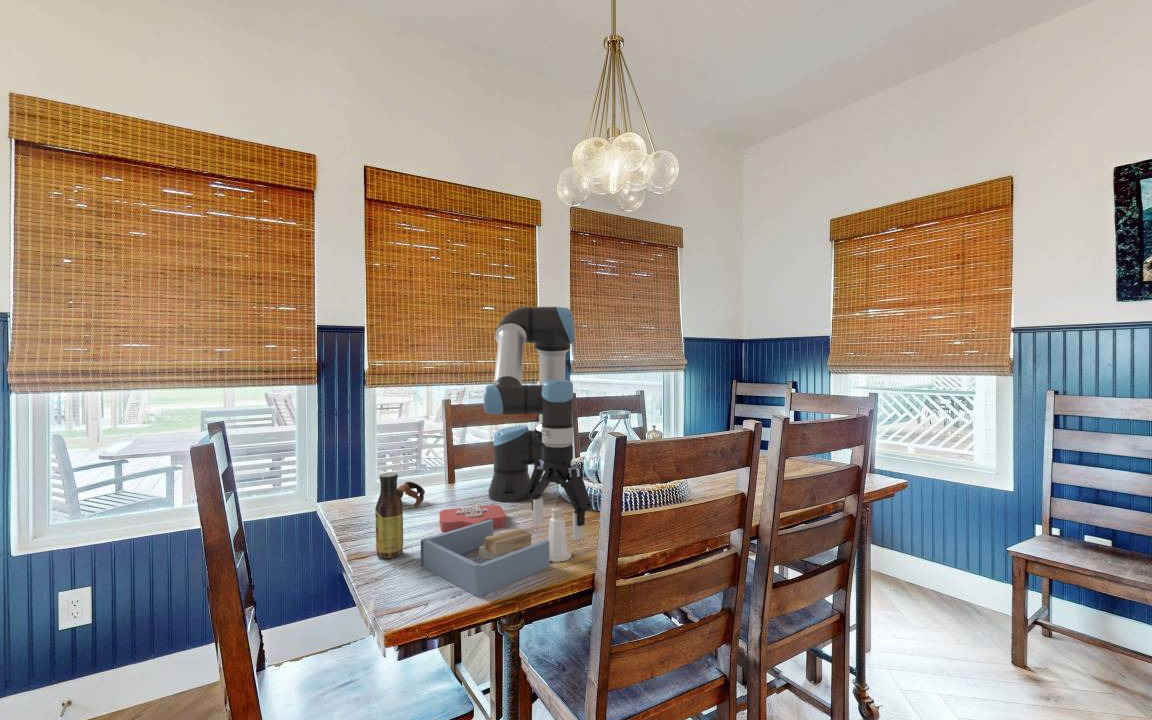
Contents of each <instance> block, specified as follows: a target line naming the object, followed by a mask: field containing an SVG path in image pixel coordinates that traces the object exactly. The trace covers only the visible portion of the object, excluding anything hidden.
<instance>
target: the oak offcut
mask: <svg viewBox="0 0 1152 720" xmlns="http://www.w3.org/2000/svg"><path fill="white" fill-rule="evenodd" d="M530 545H532V532H530V531H527V530H525V529H523V528H516V529H512V530H508V531H504V532H500V533H497V534H493V535H492V536H488V537H485V549H486V550H488V551H490V552H491V553H493V554H494V555H498V554H501V553H505V552H508V551H512V550H516V549H519V548H523V547H526V546H530Z"/></svg>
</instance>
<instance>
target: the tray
mask: <svg viewBox="0 0 1152 720" xmlns="http://www.w3.org/2000/svg"><path fill="white" fill-rule="evenodd" d="M492 535H494V528H493V520H491V519H489V520H486V521H483V522H479V523H476V524H473V525H469V526H466V527H463V528H459V529H456V530H452V531H449V532H446V533H444V532H442V533H439V534H437V535H433V536H430V537H426V538H422V539H420V566H421V567H422V568H424V569H425V570H428V571H430V572H431V573H434V574H435V575H437V576H439V577H441V578H442V579H444V580H446V581H448V582H450V583H451V584H453V585H455V586H457V587H458V588H460V589H463V590H464V591H466V592H468V593H470V594H471V595H473V596H475V597H477V598H479V597H482V596H484V595H487V594H489V593H492V592H494V591H496V590H498V589H501V588H503V587H507V585H511V584H513V583H515V582H517V581H519V580H522V579H525V578H527V577H529V576H531V574H532V575H533V573H534V574H536V573H539V572H541V571H543V570H546V569H548V568H550V562H549V541H548V539H544V540H541V541H538V542H536V543H533V544H531V545H530V546H528V547H525V548H522V549H519V550H517V551H514V552H511V553H509V554H506V555H503V556H500V557H498V558H495V559H489V560H486V561H485V562H482V563H477V562H475V561H474V560H471V559H469V558H467V557H465V556H463V555H464V554H467V553H469V552H473V551H476V550H479V547H480V546H482V545H483V544H484V543H485V537H488V536H492ZM547 567H548V568H547ZM545 568H546V569H545ZM542 569H543V570H542ZM540 570H541V571H540ZM538 571H539V572H538ZM535 572H536V573H535ZM526 576H527V577H526Z"/></svg>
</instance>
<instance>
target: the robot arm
mask: <svg viewBox="0 0 1152 720" xmlns="http://www.w3.org/2000/svg"><path fill="white" fill-rule="evenodd" d="M573 318H574V317H573V313H572V310H571V309H570V308H568V307H562V306H522V307H518V308H515V309H513V310H512V311H509V312H508V313H507V314H506V315H505V316H504V317H502V319H501V320H500V322H499V323H498V325H497V326H496V328H495V329H496V330H495V336H494V337H495V341H496V344H497V350H496V357H495V366H494V367H495V368H494V378H493V384H491V385H490V384H489V385H485V387H484V390H483V410H484V411H485V413H486V414H488V415H499V416H502V415H506V416H507V415H538V421H537V423H535V425H534V430H530V429H529V427H528V426H527V425H513V426H507V427H504V428H500V429H498V430H496V432H494V435H493V443H492V444H493V445H492V446H493V475H492V477H491V478H492V479H491V482H490V484H489V485H490V486H489V487H488V498H489V499H490V500H493V501H498V502H520V501H526V500H528V499H531V510H532V526H534V527H537V526H540V525H543V524H544V497H542V496H543V495H542V494H544V492H545V490H546V489H547V488H548V486H549V485H550V483H555V484H556V485H560V487H561V488H563V490H564V492H565V494H566V495H567V497H568V500H569V501H570V503H571V505H572V507H573V509H574V511H573V512H572V540H573V541H577V540H580V539H582V538H584V535H583V534H584V525H585V523H586V519H585V518H586V516H585V515H586V512H588V511H590V510H592V509H593V505H592V503H591V502H592V501H591V499H590V496H589V493H588V490H587V487H586V485H585V482H584V481H585V480H584V478H583V472H582V471H583V470H582V467H580V466H579V467H575V468H574V467H572V464H571V463H572V461H573V459H574V445H573V443H574V423H573V422H574V421H573V420H574V396H575V393H574V384H573V382H572V381H571V380H569V379H568V380H567V379H566V359H567V357H566V356H567V353H568V352H569V351H570V350H571V345H573V344H575V343H576V334H575V325H574V319H573ZM526 344H534V350H535V351H537V353H538V355H539V356H538V357H539V366H538V367H539V369H538V371H539V372H538V373H539V376H538V377H539V379H538V384H523V363H524V361H523V360H524V359H523V358H524V356H523V355H524V346H525V345H526ZM529 466H534V467H533V470H532V473H531V476H530V475H529Z"/></svg>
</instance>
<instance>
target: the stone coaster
mask: <svg viewBox="0 0 1152 720" xmlns="http://www.w3.org/2000/svg"><path fill="white" fill-rule="evenodd" d="M567 554H568V555H566V556H564V557H562V558H552V557H550V556H549V561H552V562H551V563H561V562H560V561H564V562H566V561H565V560H567V561H569V560H570V559H569V558H571V559H572V557H573V556H572V554H573V553H572V552H571V551H570V550H569V549H567ZM571 556H572V557H571ZM568 559H569V560H568Z"/></svg>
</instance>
